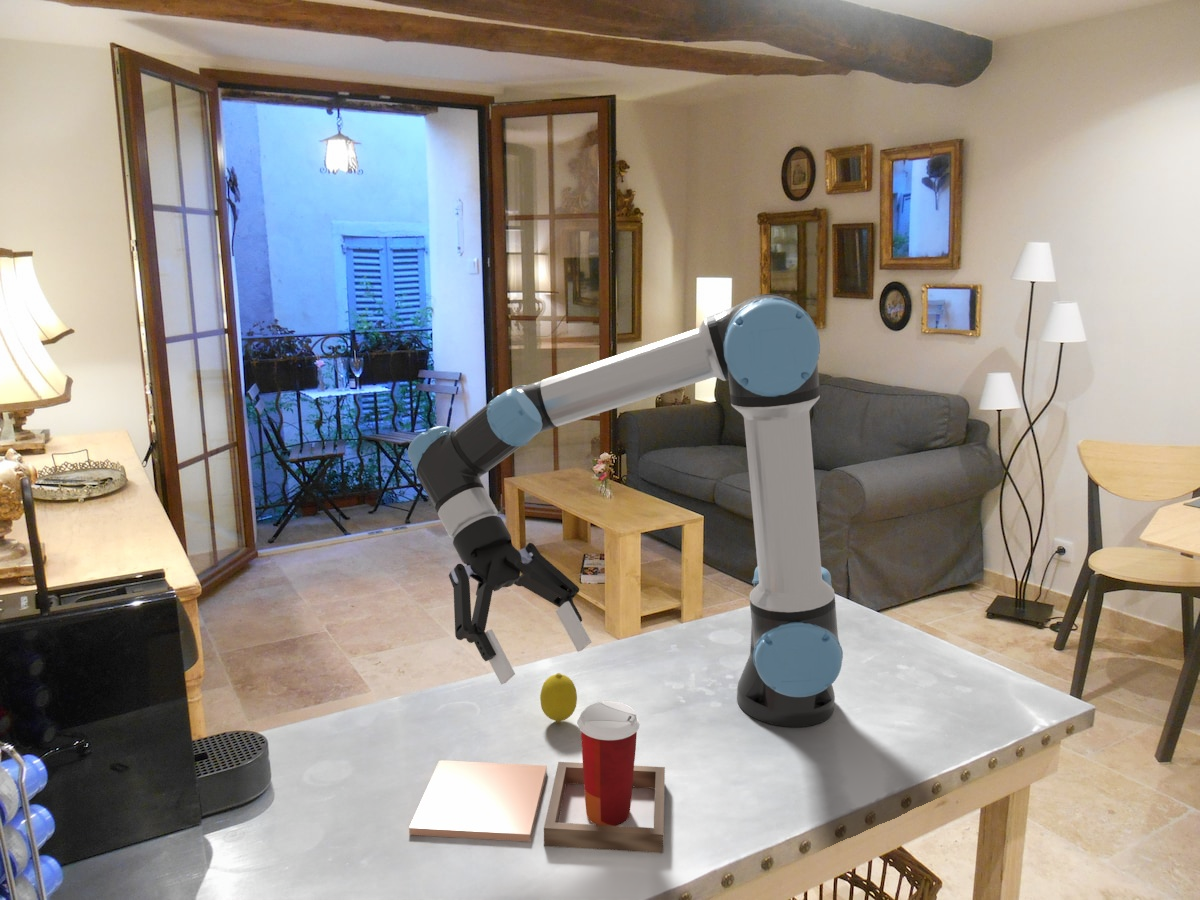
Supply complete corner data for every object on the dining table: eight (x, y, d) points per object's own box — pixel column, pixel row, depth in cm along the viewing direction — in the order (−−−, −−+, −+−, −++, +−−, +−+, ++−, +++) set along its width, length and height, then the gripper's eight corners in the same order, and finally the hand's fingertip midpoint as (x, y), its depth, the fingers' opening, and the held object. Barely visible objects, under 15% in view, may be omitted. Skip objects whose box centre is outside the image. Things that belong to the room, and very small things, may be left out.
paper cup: (645, 802, 121) (647, 704, 117) (627, 837, 114) (629, 735, 110) (588, 790, 123) (589, 694, 120) (568, 824, 116) (568, 723, 113)
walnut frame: (664, 783, 125) (664, 767, 124) (663, 853, 111) (663, 834, 110) (558, 778, 126) (558, 761, 125) (543, 846, 112) (543, 828, 111)
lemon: (572, 733, 137) (572, 684, 135) (536, 729, 138) (535, 680, 136) (580, 714, 142) (580, 667, 141) (545, 711, 144) (545, 663, 142)
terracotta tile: (546, 772, 127) (546, 765, 127) (530, 841, 113) (529, 834, 112) (439, 766, 128) (439, 760, 128) (409, 834, 114) (409, 827, 114)
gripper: (530, 523, 140) (599, 646, 133) (388, 562, 122) (459, 706, 115) (554, 496, 135) (627, 623, 128) (410, 533, 117) (485, 682, 111)
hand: (548, 662), depth 122 cm, fingers open, 13 cm apart
